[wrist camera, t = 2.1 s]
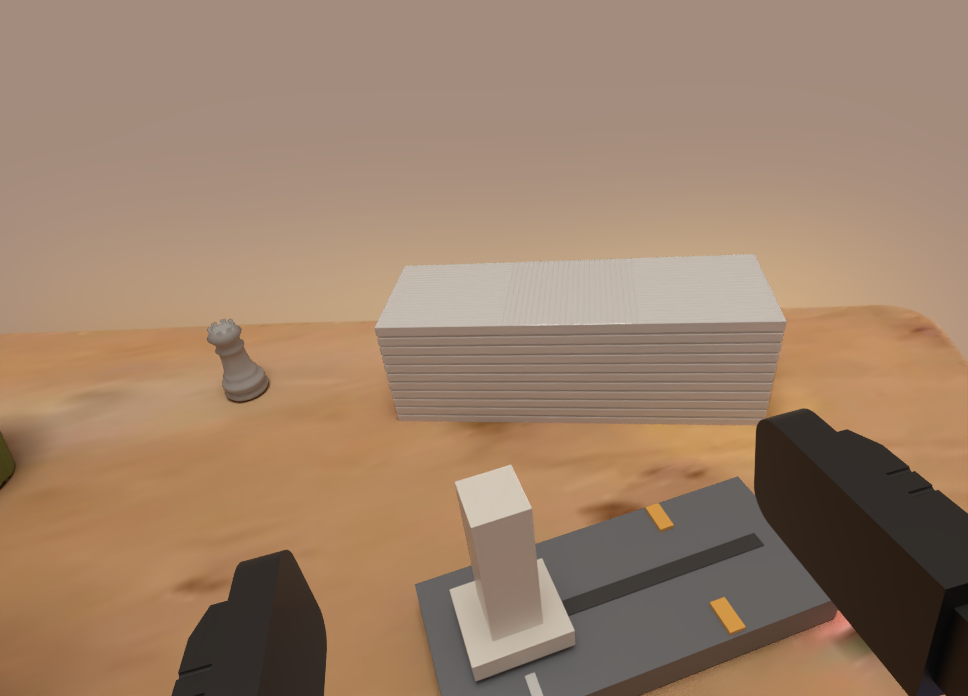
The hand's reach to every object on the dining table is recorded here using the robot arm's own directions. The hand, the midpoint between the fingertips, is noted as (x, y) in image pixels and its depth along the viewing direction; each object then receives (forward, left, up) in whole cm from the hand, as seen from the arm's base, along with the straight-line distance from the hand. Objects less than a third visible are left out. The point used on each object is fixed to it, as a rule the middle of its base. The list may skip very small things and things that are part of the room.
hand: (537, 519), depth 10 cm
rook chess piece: (+24, +45, -29) cm, 59 cm away
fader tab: (+11, +8, -26) cm, 29 cm away
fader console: (+16, +3, -29) cm, 33 cm away
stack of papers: (+36, +14, -29) cm, 49 cm away
